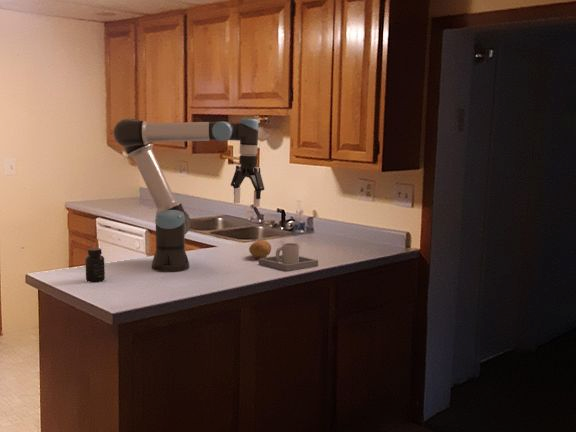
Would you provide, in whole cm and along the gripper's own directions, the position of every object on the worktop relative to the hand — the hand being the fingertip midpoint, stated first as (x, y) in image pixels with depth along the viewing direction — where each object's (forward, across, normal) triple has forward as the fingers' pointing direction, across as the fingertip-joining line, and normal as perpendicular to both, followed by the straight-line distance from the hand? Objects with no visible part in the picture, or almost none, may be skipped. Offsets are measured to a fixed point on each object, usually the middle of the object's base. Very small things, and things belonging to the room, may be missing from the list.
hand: (246, 205), depth 280 cm
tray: (+25, -15, -12) cm, 31 cm away
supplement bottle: (+27, +7, +65) cm, 71 cm away
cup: (+25, -15, -12) cm, 31 cm away
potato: (+25, +5, -13) cm, 29 cm away
